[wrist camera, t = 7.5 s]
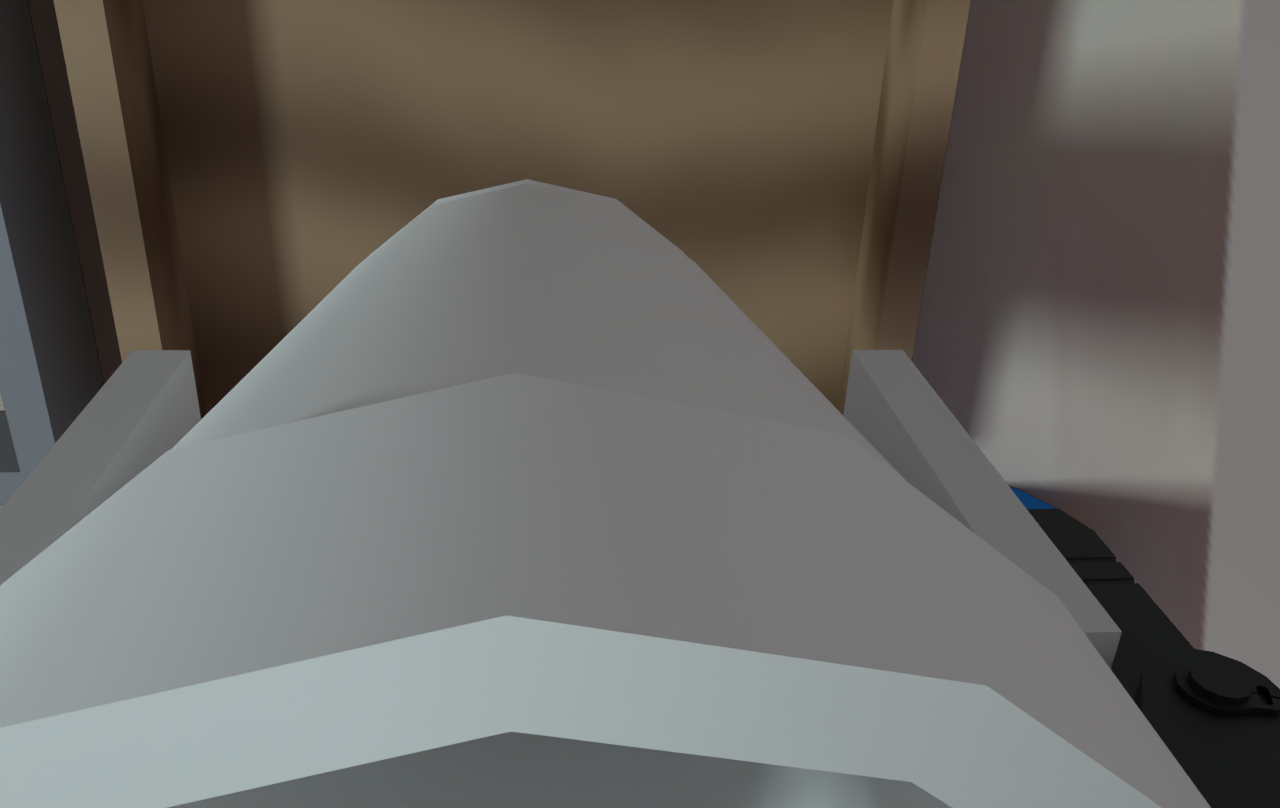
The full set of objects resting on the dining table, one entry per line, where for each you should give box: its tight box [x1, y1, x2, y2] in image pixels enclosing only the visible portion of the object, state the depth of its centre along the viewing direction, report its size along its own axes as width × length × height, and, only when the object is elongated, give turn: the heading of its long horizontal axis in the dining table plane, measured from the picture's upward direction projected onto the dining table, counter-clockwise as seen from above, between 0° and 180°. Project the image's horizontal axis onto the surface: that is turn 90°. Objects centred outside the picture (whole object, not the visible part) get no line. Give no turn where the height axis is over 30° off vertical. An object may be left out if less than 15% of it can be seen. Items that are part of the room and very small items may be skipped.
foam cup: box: [0, 179, 1211, 808], centre depth 12 cm, size 10×9×13 cm
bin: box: [53, 0, 971, 419], centre depth 27 cm, size 16×20×4 cm
